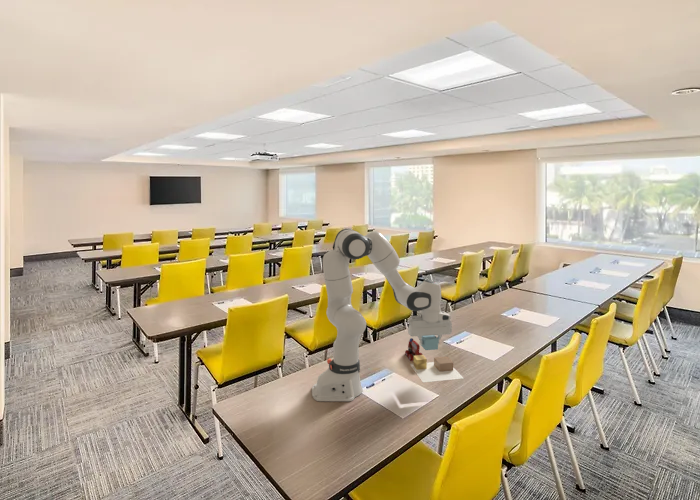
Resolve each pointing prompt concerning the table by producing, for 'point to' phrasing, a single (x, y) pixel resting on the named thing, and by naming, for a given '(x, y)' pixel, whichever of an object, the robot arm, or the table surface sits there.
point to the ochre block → (420, 362)
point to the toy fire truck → (412, 350)
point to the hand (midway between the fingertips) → (429, 343)
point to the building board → (438, 370)
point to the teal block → (430, 342)
